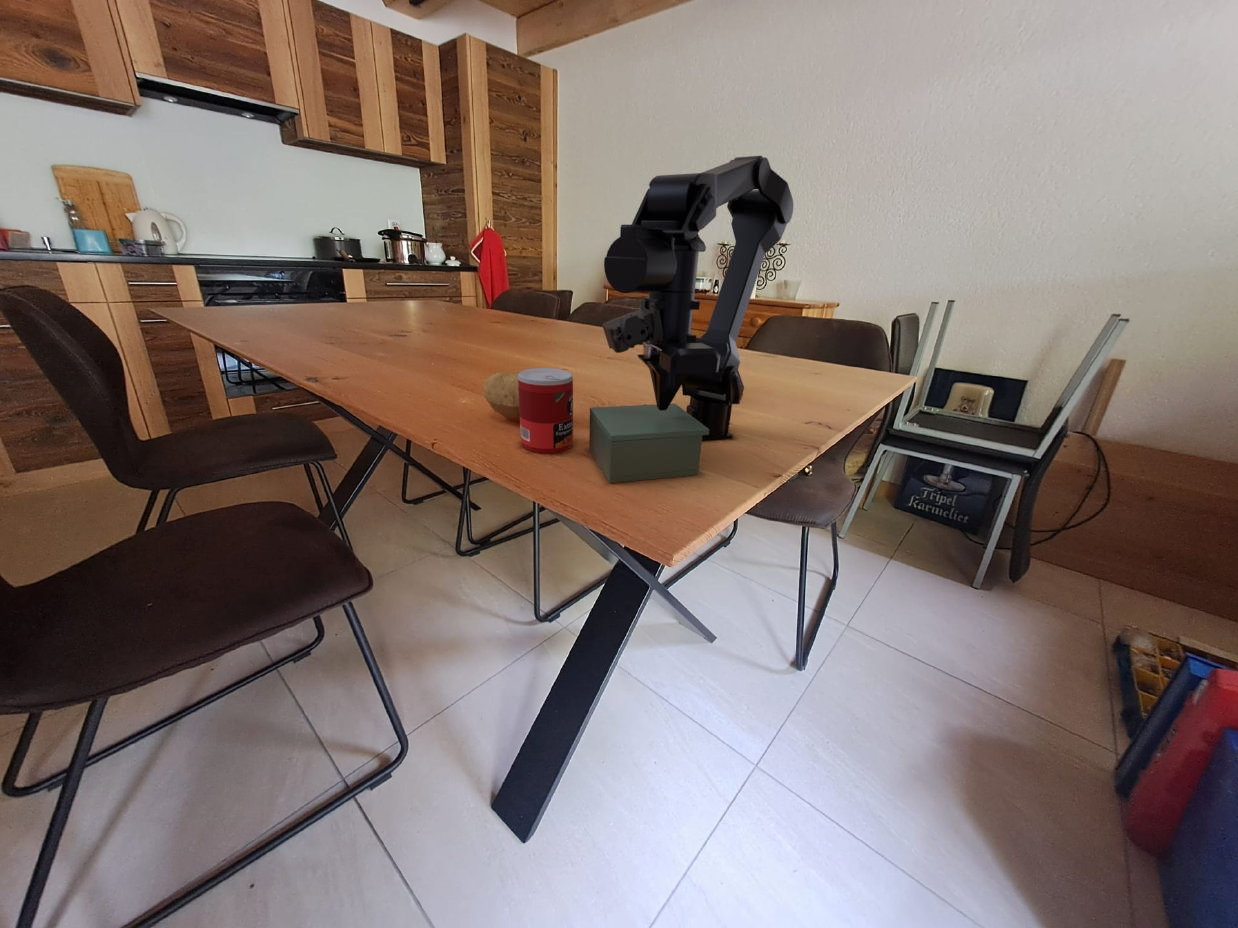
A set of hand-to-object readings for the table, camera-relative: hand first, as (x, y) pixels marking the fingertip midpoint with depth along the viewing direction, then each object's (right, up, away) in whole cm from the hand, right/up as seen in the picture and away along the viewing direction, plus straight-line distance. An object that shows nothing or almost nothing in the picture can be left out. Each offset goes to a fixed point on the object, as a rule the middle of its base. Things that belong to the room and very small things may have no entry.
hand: (661, 409), depth 65 cm
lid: (-2, -2, 0) cm, 3 cm away
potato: (-22, 0, +17) cm, 28 cm away
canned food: (-17, -5, +7) cm, 19 cm away
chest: (-3, -7, +2) cm, 8 cm away
